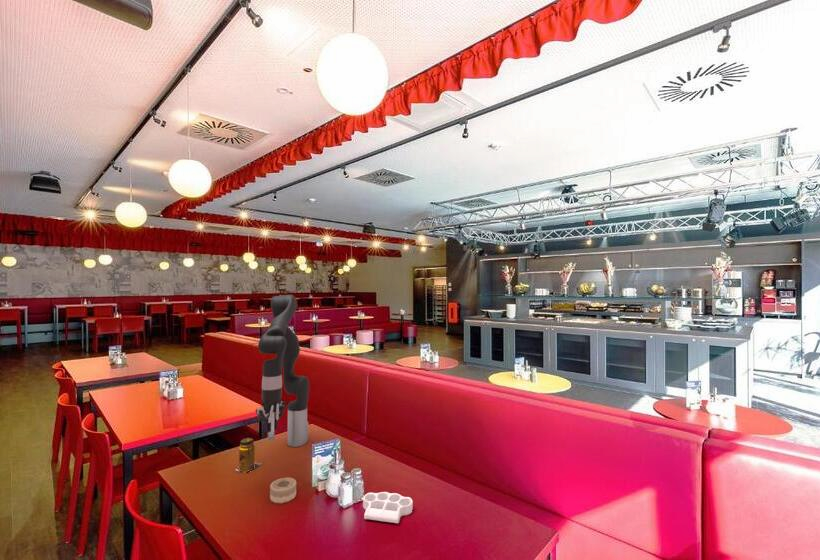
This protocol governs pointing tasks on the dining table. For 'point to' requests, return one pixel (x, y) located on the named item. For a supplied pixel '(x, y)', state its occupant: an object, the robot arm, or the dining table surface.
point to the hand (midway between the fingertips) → (271, 430)
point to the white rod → (272, 428)
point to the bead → (283, 490)
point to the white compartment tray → (386, 506)
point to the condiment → (247, 455)
